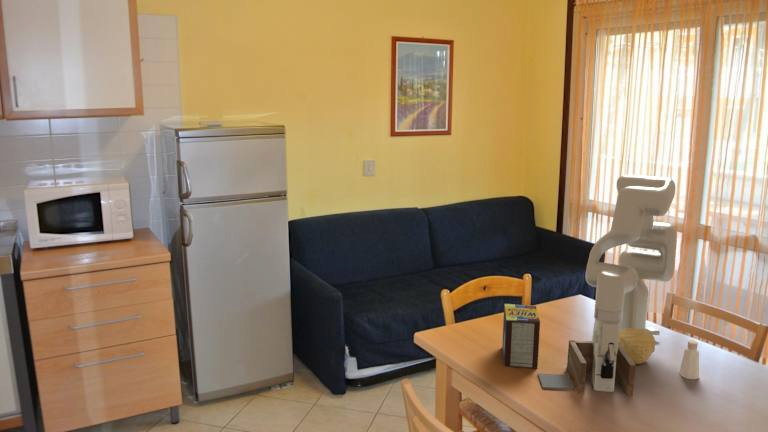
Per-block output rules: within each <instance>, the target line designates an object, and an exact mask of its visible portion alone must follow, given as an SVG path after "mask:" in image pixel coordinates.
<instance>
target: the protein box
mask: <svg viewBox="0 0 768 432" xmlns="http://www.w3.org/2000/svg"><path fill="white" fill-rule="evenodd" d="M502 325H503V326H502V327H503V328H502V345H501V347H502V356H503V358H502V359H503V366H504V367H509V368H510V367H512V368H527V369H538V366H539V365H538V364H539V349H540V336H541V335H540V334H541V333H540V330H541V319H540V316H539V312H538V309H537V305H531V304H513V303H504V305H503V323H502Z"/></svg>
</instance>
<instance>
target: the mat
mask: <svg viewBox="0 0 768 432" xmlns="http://www.w3.org/2000/svg"><path fill="white" fill-rule="evenodd" d="M537 377H538V379H539V382H540V385H541V387H542V389H543V390H553V391H555V390H557V391H576V390H575V389H576V388H575V385H574V384H573V382H572V380H571V379H572V378H570V376H569V374H565V373H564V374H562V373H561V374H559V373H542V372H541V373H537Z"/></svg>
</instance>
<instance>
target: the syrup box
mask: <svg viewBox="0 0 768 432" xmlns="http://www.w3.org/2000/svg"><path fill="white" fill-rule="evenodd" d="M614 353H615V352H614ZM605 355H609V353H606V354H605ZM607 359H609V357H606V360H607ZM602 365H603V355H602V356H600V355H599V354H598V343H597V342H596V341H595V348H594V352H593V367H592V371H591V385H592V388H593V390H594V391H598V392H607V393H614V392H615V382H616V381H615V380H616V376H615V371H616V356H615V361H614V368H613V378H612V379H604V378H601V366H602Z"/></svg>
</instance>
